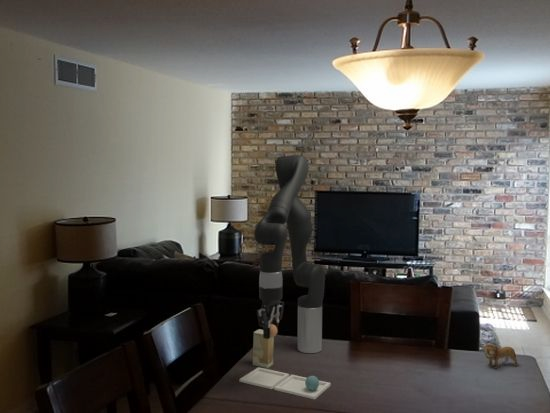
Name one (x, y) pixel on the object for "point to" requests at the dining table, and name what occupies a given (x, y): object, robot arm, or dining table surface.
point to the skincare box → (262, 350)
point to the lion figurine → (499, 354)
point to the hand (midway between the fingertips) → (270, 336)
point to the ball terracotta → (273, 330)
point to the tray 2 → (301, 387)
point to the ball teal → (312, 383)
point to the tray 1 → (264, 378)
